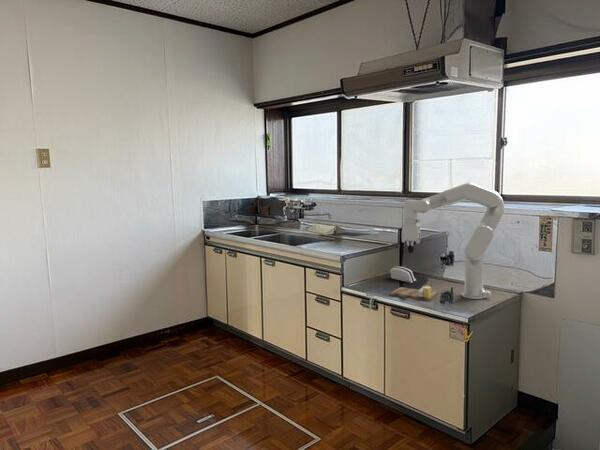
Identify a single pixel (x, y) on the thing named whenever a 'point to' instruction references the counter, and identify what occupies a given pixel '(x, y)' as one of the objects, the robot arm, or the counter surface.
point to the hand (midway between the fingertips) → (410, 252)
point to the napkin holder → (402, 274)
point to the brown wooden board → (412, 294)
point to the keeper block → (426, 291)
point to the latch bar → (421, 291)
